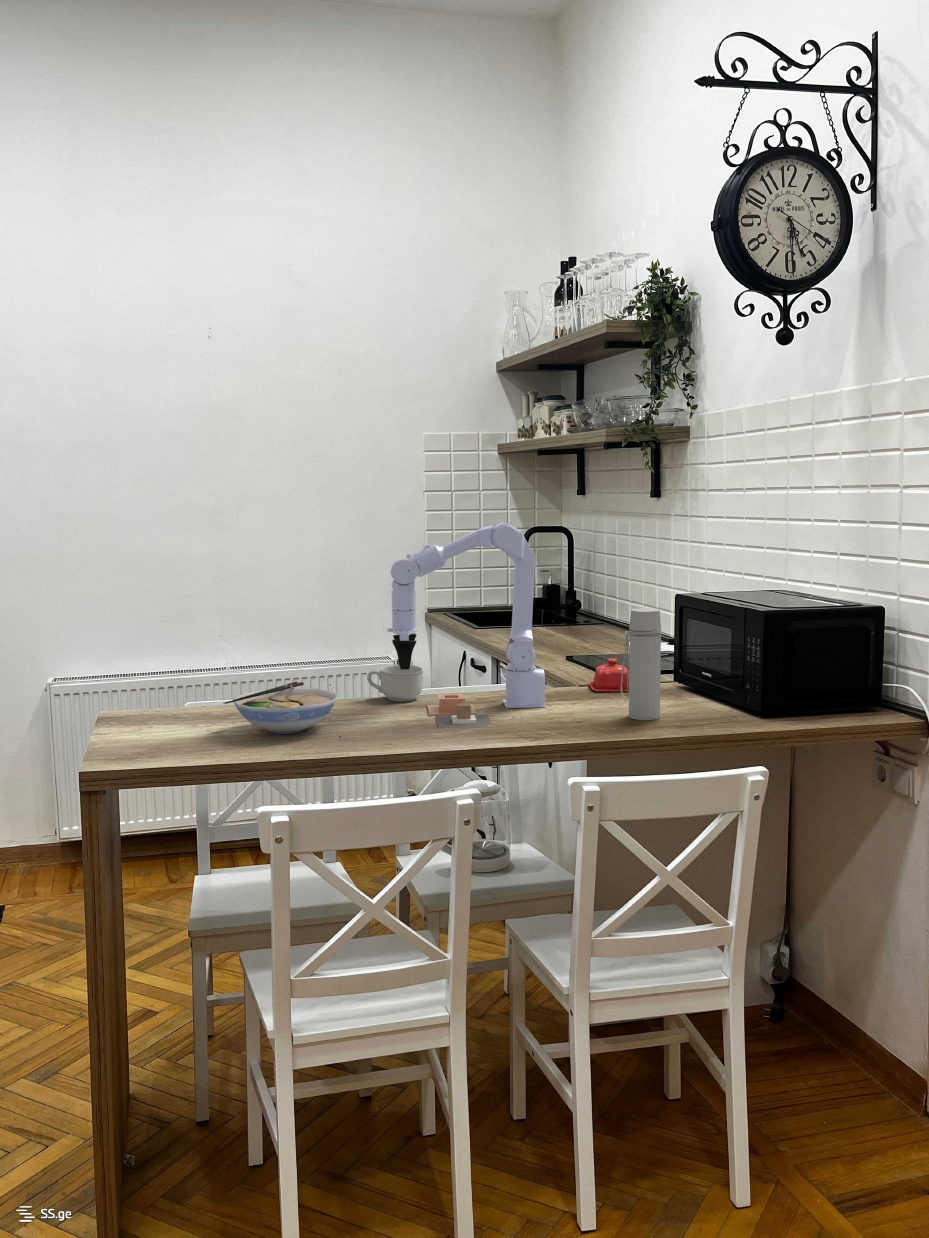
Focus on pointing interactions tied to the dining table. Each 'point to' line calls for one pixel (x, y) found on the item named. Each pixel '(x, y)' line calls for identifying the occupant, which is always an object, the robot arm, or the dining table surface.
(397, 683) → the teacup
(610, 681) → the butter dish
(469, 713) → the lid
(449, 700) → the salmon stepped square block
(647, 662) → the water bottle
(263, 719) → the ramen bowl
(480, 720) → the mat
